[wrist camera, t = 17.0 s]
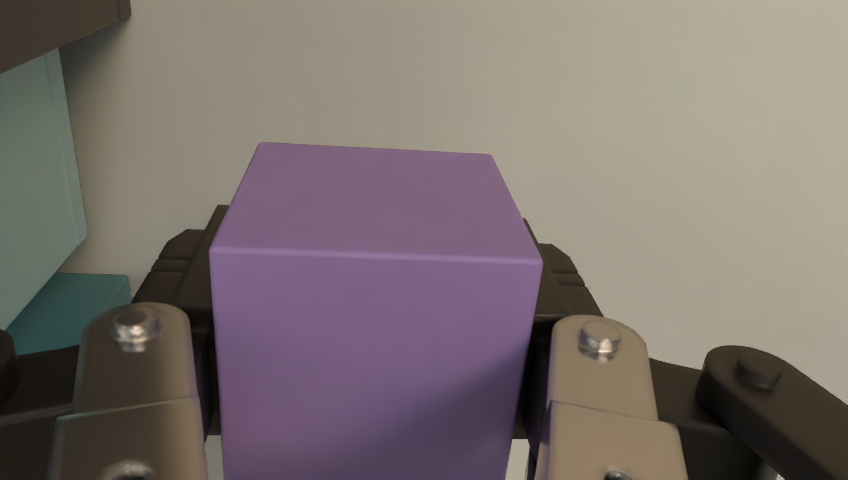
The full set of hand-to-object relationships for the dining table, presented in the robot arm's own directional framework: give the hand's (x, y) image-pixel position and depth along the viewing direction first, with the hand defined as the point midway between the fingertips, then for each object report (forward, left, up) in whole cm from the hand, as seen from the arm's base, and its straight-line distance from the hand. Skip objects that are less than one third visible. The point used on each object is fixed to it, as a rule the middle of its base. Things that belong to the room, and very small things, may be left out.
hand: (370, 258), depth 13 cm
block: (0, 0, 0) cm, 0 cm away
